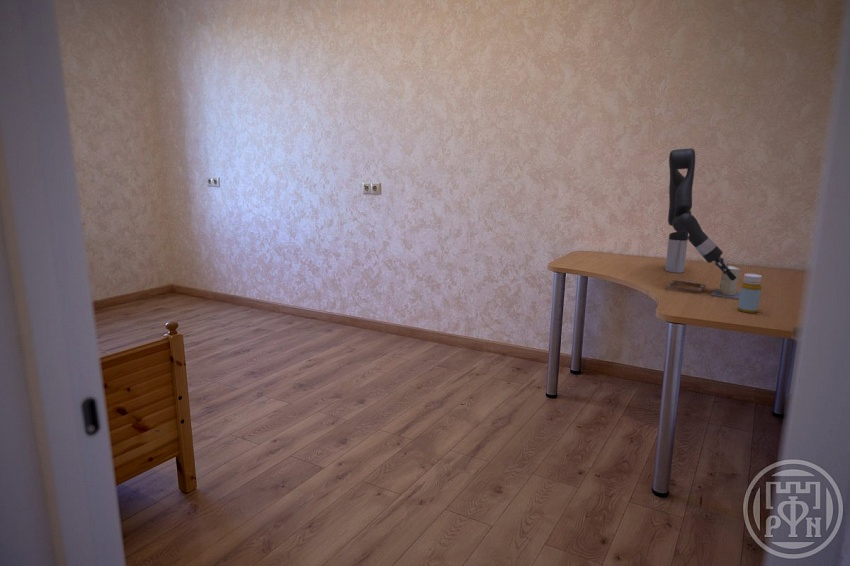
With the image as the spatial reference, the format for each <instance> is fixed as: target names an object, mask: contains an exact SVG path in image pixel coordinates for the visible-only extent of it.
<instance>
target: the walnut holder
mask: <svg viewBox="0 0 850 566" xmlns="http://www.w3.org/2000/svg"><path fill="white" fill-rule="evenodd" d="M678 284H679V286H674V285H678ZM685 285H686V287H682V286H685ZM692 286H694V287H693V288H689V287H692ZM664 287H665V288H664V290H667V289H670V290H669V291H674V290H676V292H681V291H683V292H684V293H688V292H689V293H690V294H695V293H698V294H697V295H701V294H700V293H702V292H703V291H704V290H705V289H706V284H705V283H699V282H698V283H697V282H691V281H684V280H683V281H682V280H675V279H671V280H670V281H669V282H668V283H667V284H666V285H665V286H664ZM696 288H697V289H696ZM704 288H705V289H704ZM683 292H682V293H683Z"/></svg>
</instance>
